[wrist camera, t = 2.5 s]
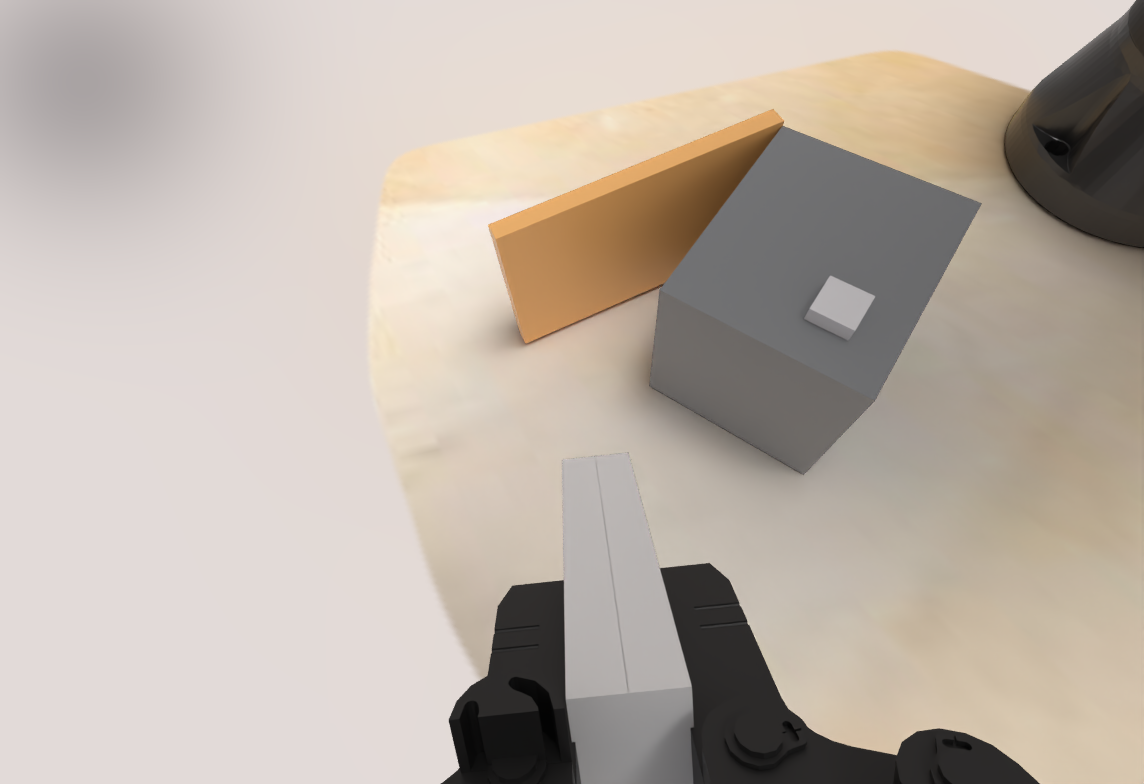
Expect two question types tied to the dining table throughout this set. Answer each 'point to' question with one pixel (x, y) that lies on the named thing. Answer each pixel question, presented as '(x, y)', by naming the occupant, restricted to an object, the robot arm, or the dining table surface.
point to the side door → (621, 228)
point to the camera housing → (803, 295)
